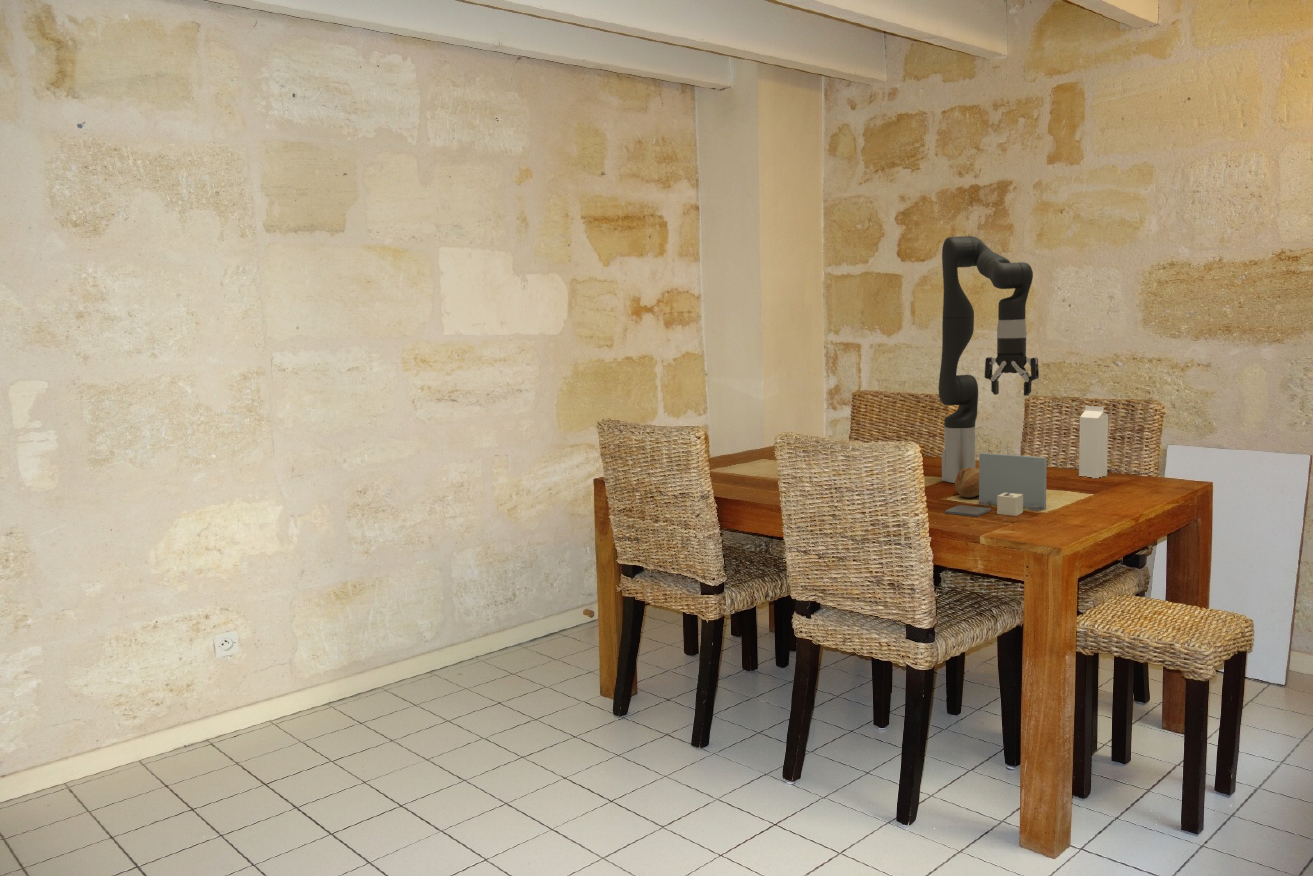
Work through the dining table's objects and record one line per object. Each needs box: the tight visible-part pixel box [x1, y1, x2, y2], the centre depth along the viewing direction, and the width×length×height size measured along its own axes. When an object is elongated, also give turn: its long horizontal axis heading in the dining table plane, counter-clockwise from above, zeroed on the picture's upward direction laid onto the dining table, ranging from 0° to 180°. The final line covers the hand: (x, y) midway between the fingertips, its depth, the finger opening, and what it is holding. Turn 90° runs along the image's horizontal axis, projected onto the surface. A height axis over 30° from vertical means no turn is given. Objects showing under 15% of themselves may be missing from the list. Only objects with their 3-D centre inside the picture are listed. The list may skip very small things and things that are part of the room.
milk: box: [1078, 405, 1109, 479], centre depth 308 cm, size 6×6×22 cm
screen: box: [978, 452, 1048, 512], centre depth 272 cm, size 18×6×14 cm, turn 49°
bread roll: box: [954, 467, 979, 499], centre depth 289 cm, size 10×15×8 cm, turn 146°
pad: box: [944, 504, 992, 518], centre depth 268 cm, size 9×9×1 cm
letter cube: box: [996, 493, 1024, 517], centre depth 264 cm, size 5×5×5 cm
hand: (1011, 394), depth 275 cm, fingers open, 8 cm apart
